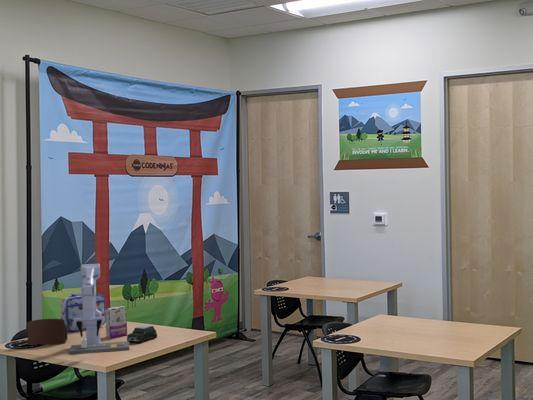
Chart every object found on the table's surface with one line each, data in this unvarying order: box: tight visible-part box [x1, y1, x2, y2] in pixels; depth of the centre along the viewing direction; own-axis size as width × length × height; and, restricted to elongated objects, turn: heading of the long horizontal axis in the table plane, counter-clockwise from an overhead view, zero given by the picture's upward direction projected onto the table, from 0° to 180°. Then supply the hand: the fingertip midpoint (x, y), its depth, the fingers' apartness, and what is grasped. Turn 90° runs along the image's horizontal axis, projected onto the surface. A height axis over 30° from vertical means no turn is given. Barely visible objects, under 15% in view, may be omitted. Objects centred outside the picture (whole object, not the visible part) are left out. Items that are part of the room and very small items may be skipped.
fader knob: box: [80, 337, 87, 348], centre depth 368 cm, size 4×2×4 cm, turn 11°
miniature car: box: [126, 324, 158, 344], centre depth 390 cm, size 9×18×8 cm, turn 152°
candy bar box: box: [105, 305, 128, 339], centre depth 403 cm, size 11×5×16 cm, turn 131°
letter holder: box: [26, 318, 68, 346], centre depth 391 cm, size 10×20×14 cm, turn 99°
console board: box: [68, 340, 130, 355], centre depth 371 cm, size 14×30×2 cm, turn 101°
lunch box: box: [60, 293, 107, 333], centre depth 427 cm, size 28×10×22 cm, turn 133°
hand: (89, 335), depth 356 cm, fingers open, 7 cm apart
